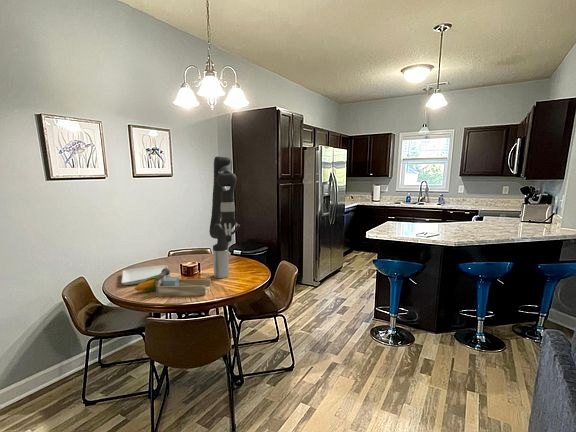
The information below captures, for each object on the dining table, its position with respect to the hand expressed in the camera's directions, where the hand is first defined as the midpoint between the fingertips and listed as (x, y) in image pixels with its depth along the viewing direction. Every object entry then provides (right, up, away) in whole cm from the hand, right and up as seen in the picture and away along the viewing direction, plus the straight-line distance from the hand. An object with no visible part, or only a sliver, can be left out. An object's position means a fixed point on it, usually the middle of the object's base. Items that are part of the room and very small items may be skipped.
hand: (228, 241), depth 168 cm
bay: (-25, -27, +1) cm, 37 cm away
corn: (-44, -28, +5) cm, 52 cm away
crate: (-32, -26, +1) cm, 41 cm away
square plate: (-57, -25, +26) cm, 68 cm away
